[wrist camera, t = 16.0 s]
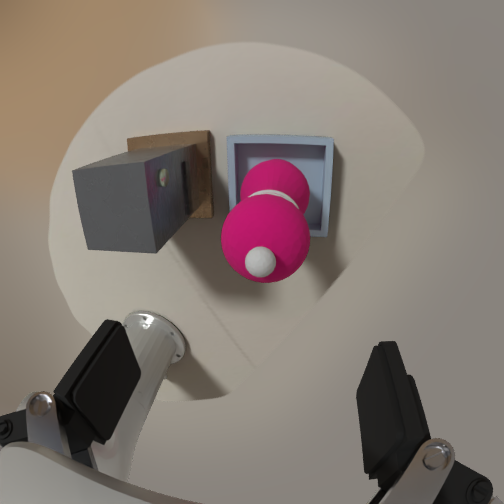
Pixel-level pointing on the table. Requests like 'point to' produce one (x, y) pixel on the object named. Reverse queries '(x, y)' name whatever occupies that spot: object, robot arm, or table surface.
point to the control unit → (145, 192)
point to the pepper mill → (268, 223)
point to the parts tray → (296, 152)
